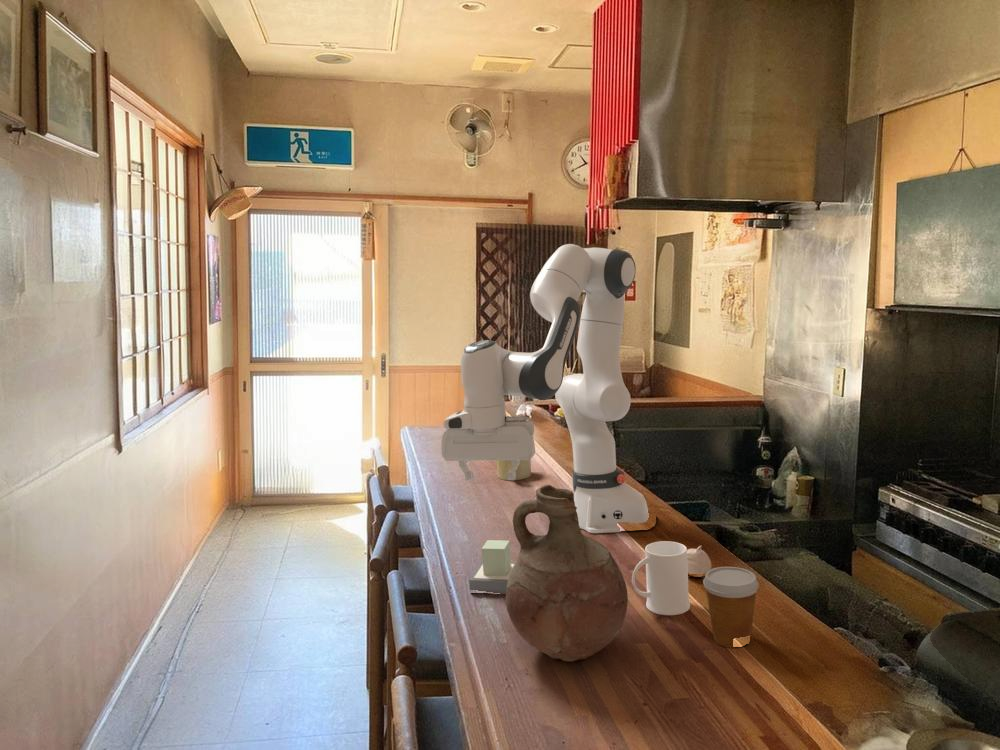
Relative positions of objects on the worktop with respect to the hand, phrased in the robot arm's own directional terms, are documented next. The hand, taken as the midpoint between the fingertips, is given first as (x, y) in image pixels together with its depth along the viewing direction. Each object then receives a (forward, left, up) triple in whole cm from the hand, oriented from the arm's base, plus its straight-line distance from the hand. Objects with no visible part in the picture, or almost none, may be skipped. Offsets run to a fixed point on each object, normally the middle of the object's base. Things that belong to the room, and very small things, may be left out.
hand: (490, 479), depth 170 cm
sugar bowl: (+13, -82, -23) cm, 86 cm away
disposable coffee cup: (-49, +22, -23) cm, 58 cm away
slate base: (-1, +2, -23) cm, 23 cm away
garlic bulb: (-43, -6, -23) cm, 49 cm away
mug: (-36, +10, -23) cm, 44 cm away
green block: (-1, +2, -20) cm, 20 cm away
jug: (-20, +30, -23) cm, 43 cm away
